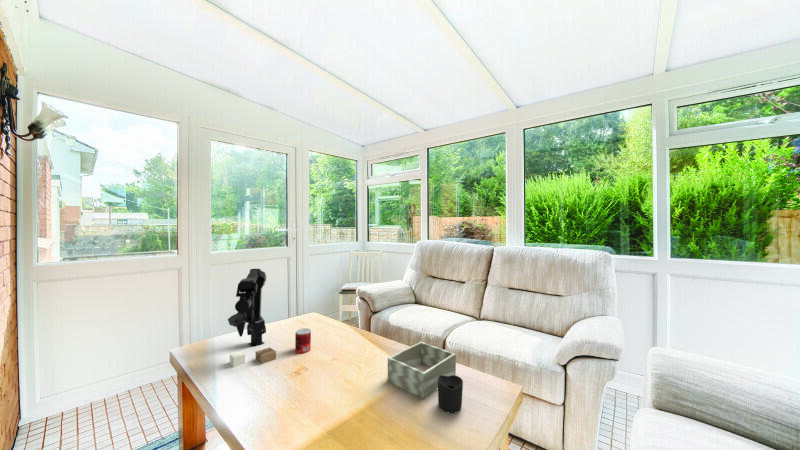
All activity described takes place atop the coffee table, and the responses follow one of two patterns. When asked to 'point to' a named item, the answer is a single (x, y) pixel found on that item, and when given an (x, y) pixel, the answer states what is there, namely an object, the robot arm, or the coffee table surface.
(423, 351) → the toy crate
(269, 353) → the walnut base
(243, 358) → the cream cube
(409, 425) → the coffee table surface
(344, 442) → the coffee table surface
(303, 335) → the canned food
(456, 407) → the pen holder
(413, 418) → the coffee table surface
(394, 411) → the coffee table surface
